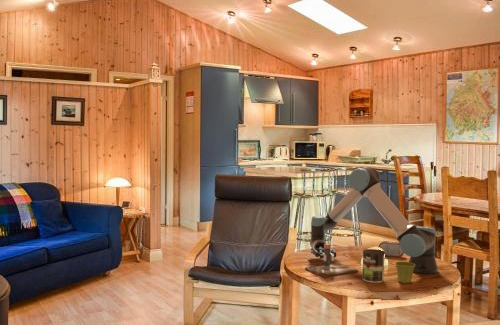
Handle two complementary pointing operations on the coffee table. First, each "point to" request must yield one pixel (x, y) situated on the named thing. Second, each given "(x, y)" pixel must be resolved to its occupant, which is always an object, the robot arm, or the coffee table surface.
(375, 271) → the coffee can
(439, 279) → the coffee table surface
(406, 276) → the plant pot
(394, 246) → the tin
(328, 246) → the marker
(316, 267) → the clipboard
